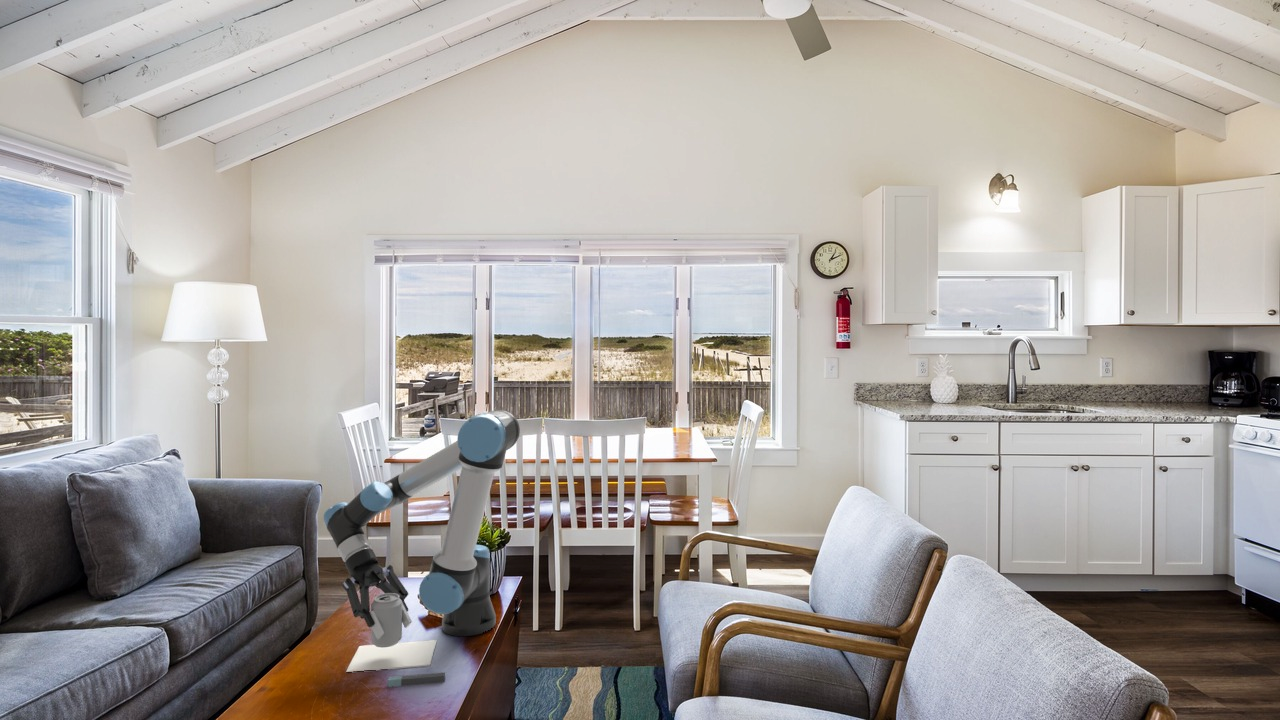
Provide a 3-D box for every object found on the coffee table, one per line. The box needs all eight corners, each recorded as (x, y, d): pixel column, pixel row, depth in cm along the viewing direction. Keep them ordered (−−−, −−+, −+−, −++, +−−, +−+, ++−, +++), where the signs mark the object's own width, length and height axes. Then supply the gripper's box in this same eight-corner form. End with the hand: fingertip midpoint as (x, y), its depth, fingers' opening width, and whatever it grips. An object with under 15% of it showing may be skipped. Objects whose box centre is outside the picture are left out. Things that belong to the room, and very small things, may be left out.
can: (392, 633, 177) (392, 588, 176) (407, 641, 172) (407, 596, 172) (365, 643, 171) (365, 597, 170) (380, 651, 166) (380, 604, 166)
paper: (436, 641, 181) (436, 639, 181) (429, 666, 167) (429, 664, 167) (359, 647, 178) (359, 645, 178) (346, 673, 164) (346, 671, 164)
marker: (445, 678, 161) (445, 671, 161) (444, 682, 160) (444, 675, 159) (389, 683, 159) (389, 676, 159) (387, 687, 157) (387, 680, 157)
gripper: (385, 553, 188) (421, 624, 179) (316, 574, 171) (352, 652, 162) (397, 538, 185) (434, 609, 176) (327, 557, 168) (364, 637, 159)
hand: (394, 630), depth 169 cm, fingers closed on can, 7 cm apart
